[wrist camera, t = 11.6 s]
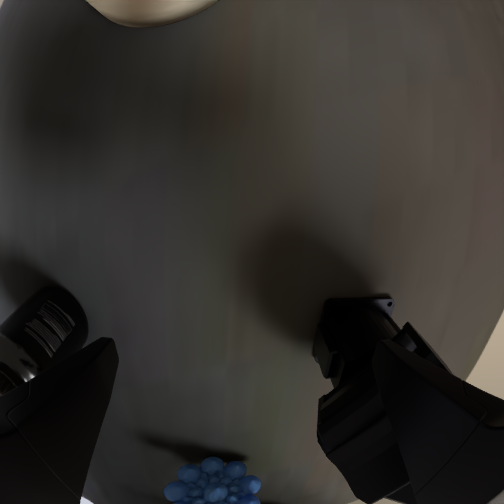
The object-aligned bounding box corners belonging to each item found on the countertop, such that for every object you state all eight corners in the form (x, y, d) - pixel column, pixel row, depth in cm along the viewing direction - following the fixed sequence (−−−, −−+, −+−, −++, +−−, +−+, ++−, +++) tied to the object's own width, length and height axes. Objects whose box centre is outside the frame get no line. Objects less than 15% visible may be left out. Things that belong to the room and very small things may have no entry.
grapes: (168, 463, 31) (158, 534, 20) (171, 440, 29) (158, 523, 18) (250, 474, 33) (255, 544, 22) (264, 453, 31) (271, 533, 19)
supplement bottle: (25, 287, 22) (-51, 357, 11) (74, 280, 22) (-7, 366, 11) (51, 346, 24) (-4, 425, 13) (101, 346, 24) (50, 442, 13)
